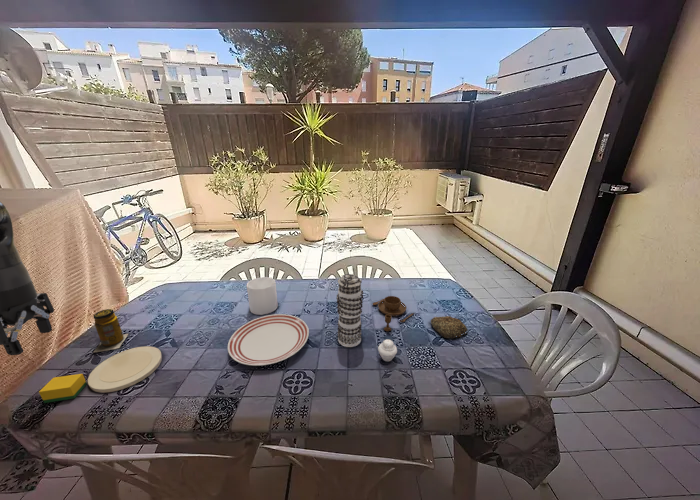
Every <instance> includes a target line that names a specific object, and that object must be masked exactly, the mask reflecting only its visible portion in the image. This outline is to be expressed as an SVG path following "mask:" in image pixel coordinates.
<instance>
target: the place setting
mask: <svg viewBox="0 0 700 500" xmlns="http://www.w3.org/2000/svg"><path fill="white" fill-rule="evenodd" d="M401 300H402V299H400V298H399V296H395V295H388V296H386V297H384V298H382V299H381V300H379V301H375V302H373V303H372V305H373V306H377V308H378V310H379V312H381V313H382V314H384V321H385V322H384V323H386V325H385V326H384V327H383V330H384V332H388V333H389V332H391V331H392V328H391V327H390V324H391V323H392V319H393V317H398V316H401V315H403V314H404V313H405V312H406V311H407V305H406V304H405V303H404V302H403V301H401ZM382 302H383V303H382ZM401 303H402V304H403V305H404V306H405V307H404V306H403V305H402V304H401ZM413 315H414V313H411V314H409V315H408V316H406V317H405V318H404V319H401V320H399V322H400V323H404V322H406V320H408V319H409V318H410V317H412V316H413Z"/></svg>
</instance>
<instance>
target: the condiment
mask: <svg viewBox="0 0 700 500" xmlns="http://www.w3.org/2000/svg"><path fill="white" fill-rule="evenodd" d="M93 319H94V327H95V329H96V332H97V335H98V338H99V341H100V343H99V344H98V345H97V347H96V348H95V349H94V350H93V352H92V353H100V352H107V351H110V350H117V349H120V347H122V345H123V343H124V341H125V340H126V339H127V337H128V336H129V333H125V334H123V330H122V328H121V324H120V322H119V319H118V316H117V315H116V314H115V311H114V309H111V308H106V309H102V310H99V311H97V312H96V313H94V314H93Z"/></svg>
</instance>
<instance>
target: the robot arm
mask: <svg viewBox="0 0 700 500" xmlns="http://www.w3.org/2000/svg"><path fill="white" fill-rule="evenodd" d="M12 220H13V219H12V217H11V214H10V211H9V210H8V207H6V205H5V204H4V203H3V202H1V201H0V346H3V348H4V350H5V352H6V354H7V355H9V356H19V355H22V354H23V353H24V349H23V347H22V345H21V342H20V340H19V339H18V335H19V332H20V331H21V330H22V328H23V325H25V324H26V323H27V322H28V321H30V320H32V319H33V320H35V321H34V322H35V324H36V326H37V329H38V331H39V333H40V334H49V333H51V332H52V331H53V328H52V324H51V321H50V317H51V314H53V313H55V309H54V306H53V304H52V302H51V300H50V298H49V296H48V293H47V292H41V293H40V292H39V293H38V292H37V290H36V288H35V284H34V283H33V280H32V277H31V276H30V272H29V271H28V269H27V267H26V266H25V264H24V262H23V260H22V258H21V255H20V253H19V251H18V248H17V246H16V245H15V236H14V235H15V234H14V233H15V232H14V228H13V221H12ZM8 326H9V327H8ZM8 334H10V335H9V336H8Z"/></svg>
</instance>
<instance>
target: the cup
mask: <svg viewBox="0 0 700 500" xmlns="http://www.w3.org/2000/svg"><path fill="white" fill-rule="evenodd" d="M246 291H247V299H248V307H249V312H251V314H253V315H258V316H265V315H269V314H271V313H273V312H275V311H276V310H277V309H278V306H279V304H278V303H279V302H278V293H277V283H276V279H274V278H273V277H269V276H261V277H256V278H253V279H251V280H249V281H248V282H247V283H246Z"/></svg>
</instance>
